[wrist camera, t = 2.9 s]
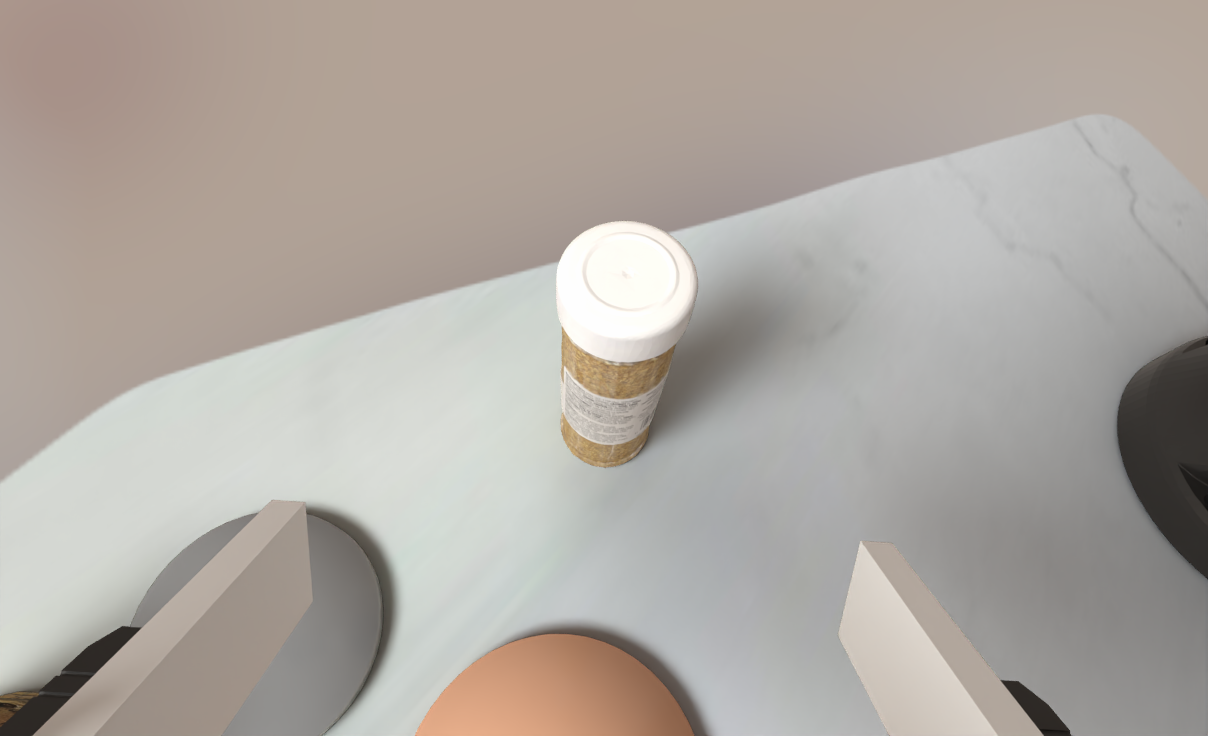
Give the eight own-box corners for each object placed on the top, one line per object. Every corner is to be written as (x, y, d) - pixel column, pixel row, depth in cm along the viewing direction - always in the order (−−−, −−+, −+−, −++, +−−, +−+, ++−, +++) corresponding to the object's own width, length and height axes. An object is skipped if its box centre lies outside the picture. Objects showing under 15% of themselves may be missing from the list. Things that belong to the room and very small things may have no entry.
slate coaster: (428, 575, 27) (424, 573, 27) (281, 824, 23) (272, 829, 22) (247, 478, 29) (239, 473, 28) (77, 695, 24) (63, 695, 24)
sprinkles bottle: (596, 371, 32) (614, 192, 20) (666, 421, 31) (728, 263, 19) (541, 434, 31) (525, 280, 19) (613, 489, 30) (646, 362, 18)
